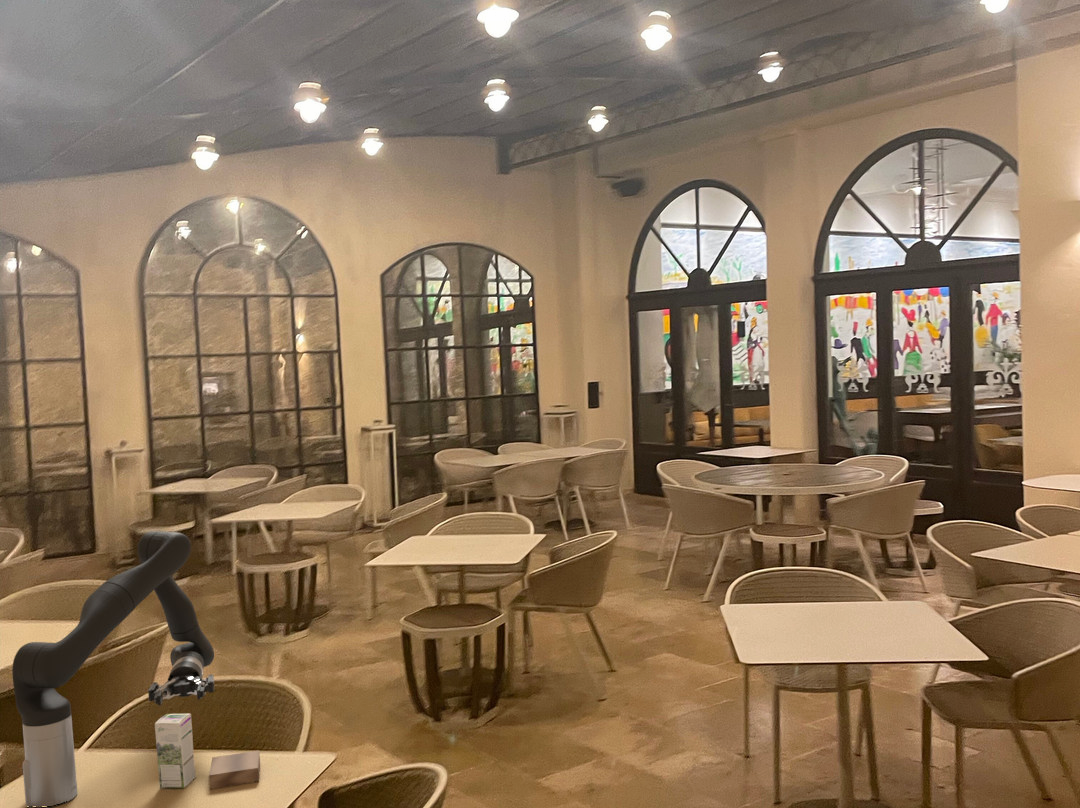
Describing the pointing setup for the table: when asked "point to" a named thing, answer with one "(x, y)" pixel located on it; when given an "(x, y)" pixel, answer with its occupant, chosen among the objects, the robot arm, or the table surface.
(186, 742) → the syrup box
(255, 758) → the brown box
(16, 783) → the table surface
